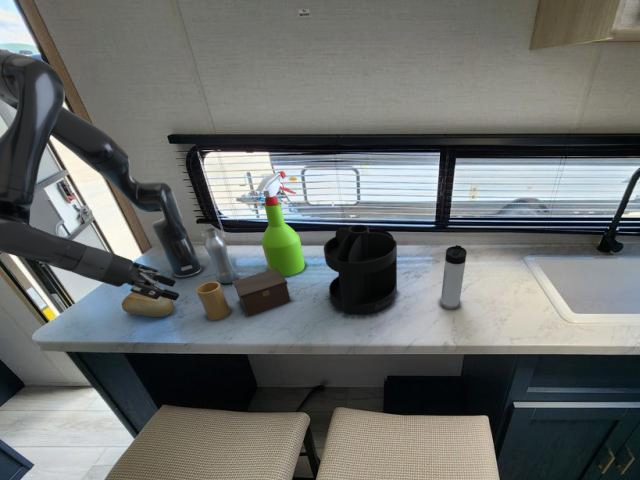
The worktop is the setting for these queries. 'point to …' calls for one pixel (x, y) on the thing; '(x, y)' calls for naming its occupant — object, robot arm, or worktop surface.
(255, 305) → the box
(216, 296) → the cup
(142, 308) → the bread roll
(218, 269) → the plastic bottle
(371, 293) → the container
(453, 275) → the travel mug
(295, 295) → the worktop surface
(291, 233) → the spray bottle
